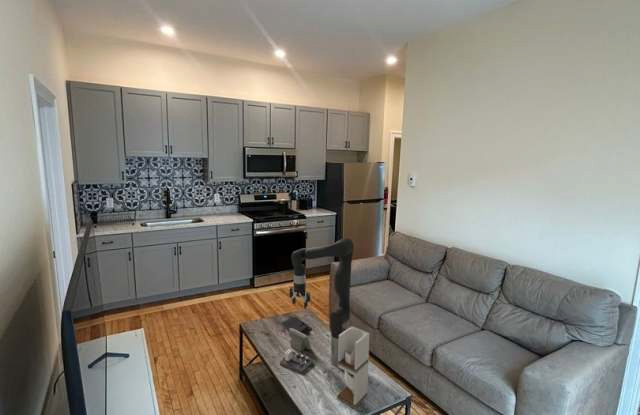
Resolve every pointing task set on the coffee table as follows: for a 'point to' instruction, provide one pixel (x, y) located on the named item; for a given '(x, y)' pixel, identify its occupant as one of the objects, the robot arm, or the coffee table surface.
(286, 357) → the fader tab
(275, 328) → the coffee table surface
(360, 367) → the display case
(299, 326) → the dark slate chunk
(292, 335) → the digital clock
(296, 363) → the console
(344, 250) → the robot arm
